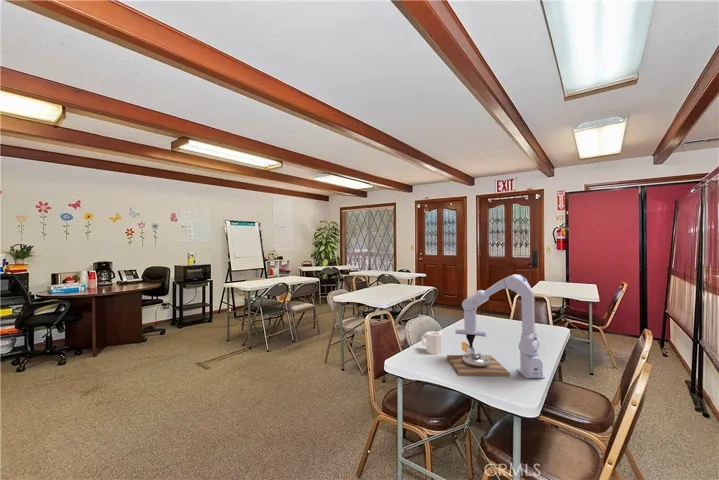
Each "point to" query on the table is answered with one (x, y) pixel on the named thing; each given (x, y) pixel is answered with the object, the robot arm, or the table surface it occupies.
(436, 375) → the table surface
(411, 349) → the table surface
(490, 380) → the table surface
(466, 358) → the silver orange handled piece
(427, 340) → the mug
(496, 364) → the base plate
